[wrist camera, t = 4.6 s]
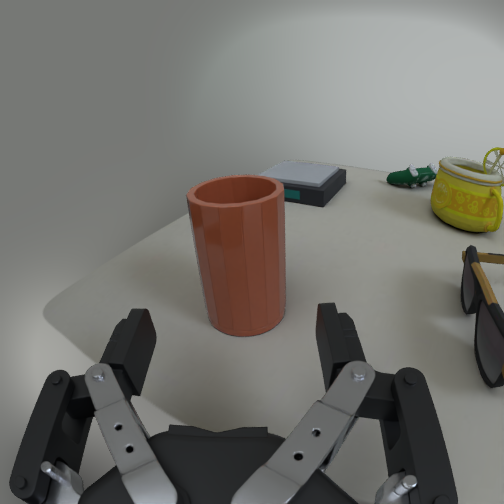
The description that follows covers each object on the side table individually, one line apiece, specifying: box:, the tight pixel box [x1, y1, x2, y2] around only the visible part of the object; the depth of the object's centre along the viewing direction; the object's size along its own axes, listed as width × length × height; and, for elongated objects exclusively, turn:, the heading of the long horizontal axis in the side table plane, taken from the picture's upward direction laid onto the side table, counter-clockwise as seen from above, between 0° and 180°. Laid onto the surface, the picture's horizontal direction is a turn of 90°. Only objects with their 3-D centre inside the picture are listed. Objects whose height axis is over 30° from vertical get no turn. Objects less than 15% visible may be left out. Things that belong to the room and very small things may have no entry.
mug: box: [431, 147, 504, 232], centre depth 33 cm, size 13×11×12 cm
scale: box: [258, 161, 346, 207], centre depth 48 cm, size 12×12×3 cm
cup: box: [186, 175, 286, 337], centre depth 23 cm, size 6×6×10 cm
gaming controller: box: [387, 163, 438, 188], centre depth 49 cm, size 9×4×6 cm
